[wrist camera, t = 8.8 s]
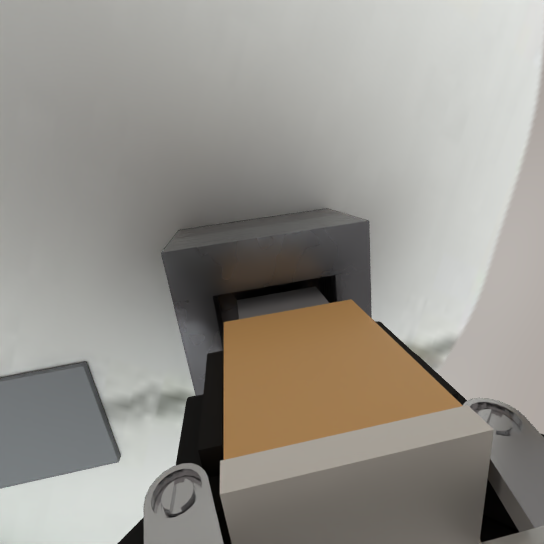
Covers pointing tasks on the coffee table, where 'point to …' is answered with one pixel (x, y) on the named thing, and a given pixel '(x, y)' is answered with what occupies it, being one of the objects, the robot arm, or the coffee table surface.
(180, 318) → the grey blocky piece
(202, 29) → the coffee table surface
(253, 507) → the plug
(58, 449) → the coaster
